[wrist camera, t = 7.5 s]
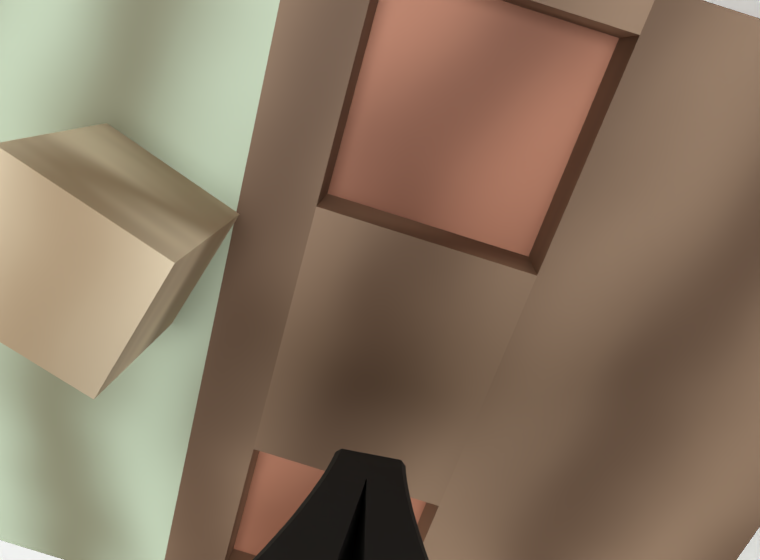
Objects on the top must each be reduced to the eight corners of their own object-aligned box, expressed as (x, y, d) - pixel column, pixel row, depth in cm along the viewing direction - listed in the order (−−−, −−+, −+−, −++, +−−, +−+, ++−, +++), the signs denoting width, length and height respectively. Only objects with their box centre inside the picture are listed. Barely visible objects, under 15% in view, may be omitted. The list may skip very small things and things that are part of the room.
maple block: (239, 214, 15) (174, 262, 12) (171, 323, 17) (93, 399, 13) (106, 123, 15) (-7, 143, 11) (47, 244, 16) (-71, 298, 12)
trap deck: (973, 106, 14) (1052, 112, 13) (603, 672, 22) (617, 727, 21) (50, -190, 14) (-9, -228, 12) (6, 490, 22) (-34, 529, 20)
